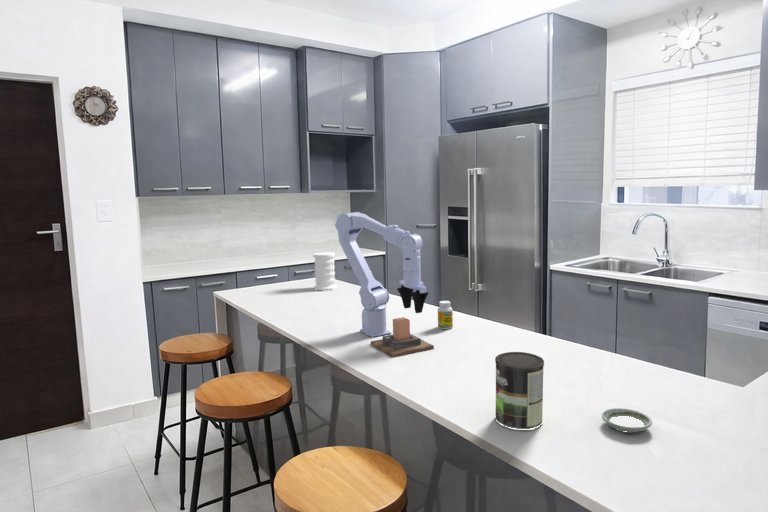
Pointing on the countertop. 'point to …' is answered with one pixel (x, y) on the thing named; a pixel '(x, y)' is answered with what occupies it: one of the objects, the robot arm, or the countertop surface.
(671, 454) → the countertop surface
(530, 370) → the coffee can
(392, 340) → the peg holder
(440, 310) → the supplement bottle
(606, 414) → the grey-green ring
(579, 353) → the countertop surface
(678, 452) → the countertop surface
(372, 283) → the robot arm
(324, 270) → the decorative container
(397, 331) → the peg
